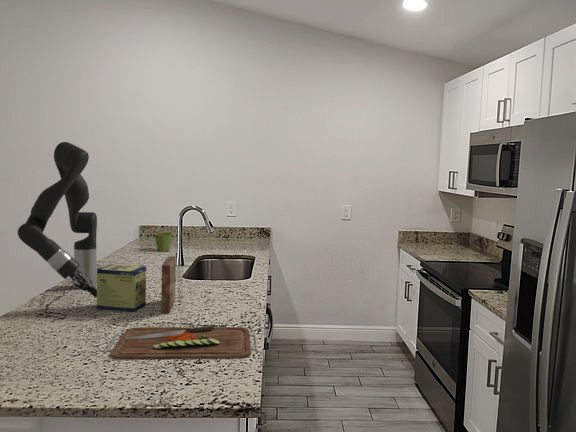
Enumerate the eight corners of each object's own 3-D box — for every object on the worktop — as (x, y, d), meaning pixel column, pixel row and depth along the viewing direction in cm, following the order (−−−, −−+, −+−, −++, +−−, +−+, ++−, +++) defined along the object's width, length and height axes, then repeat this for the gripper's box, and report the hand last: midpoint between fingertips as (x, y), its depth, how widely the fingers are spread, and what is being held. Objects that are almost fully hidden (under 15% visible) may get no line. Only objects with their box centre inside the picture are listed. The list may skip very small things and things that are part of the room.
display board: (161, 313, 193) (161, 265, 191) (167, 299, 213) (168, 256, 211) (169, 313, 193) (170, 265, 192) (175, 299, 213) (175, 256, 211)
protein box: (134, 312, 193) (135, 271, 192) (95, 309, 195) (95, 268, 194) (146, 305, 203) (146, 266, 202) (109, 302, 206) (109, 263, 204)
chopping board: (99, 360, 146) (99, 350, 146) (120, 331, 173) (120, 322, 172) (259, 359, 151) (259, 349, 150) (255, 330, 177) (255, 322, 177)
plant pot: (152, 249, 335) (152, 232, 334) (170, 249, 340) (170, 232, 339) (155, 252, 325) (155, 235, 324) (174, 252, 330) (174, 234, 329)
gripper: (66, 259, 188) (102, 292, 191) (74, 253, 201) (107, 284, 204) (51, 274, 188) (87, 306, 191) (60, 267, 200) (93, 297, 204)
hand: (97, 295), depth 198 cm, fingers closed
